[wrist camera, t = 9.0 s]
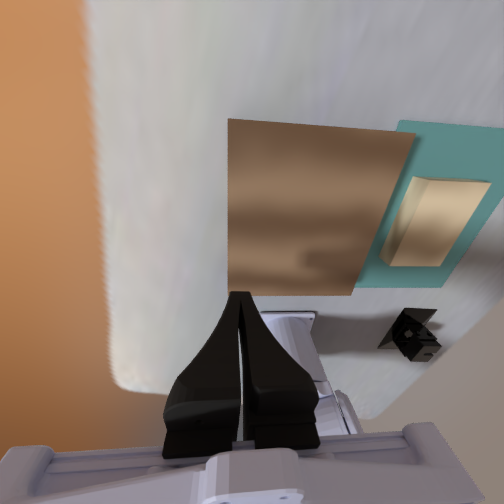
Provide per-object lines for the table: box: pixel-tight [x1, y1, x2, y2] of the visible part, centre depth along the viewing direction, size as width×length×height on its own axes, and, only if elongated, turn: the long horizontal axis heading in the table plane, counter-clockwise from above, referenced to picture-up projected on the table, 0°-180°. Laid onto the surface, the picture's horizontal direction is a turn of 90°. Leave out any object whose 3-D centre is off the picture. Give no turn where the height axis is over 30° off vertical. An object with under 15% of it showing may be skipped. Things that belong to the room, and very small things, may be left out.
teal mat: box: [354, 120, 504, 288], centre depth 22 cm, size 18×14×1 cm
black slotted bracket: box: [377, 308, 442, 362], centre depth 30 cm, size 12×7×5 cm, turn 173°
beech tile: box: [378, 176, 492, 266], centre depth 21 cm, size 9×6×2 cm, turn 177°
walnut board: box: [228, 119, 416, 296], centre depth 20 cm, size 16×14×3 cm
